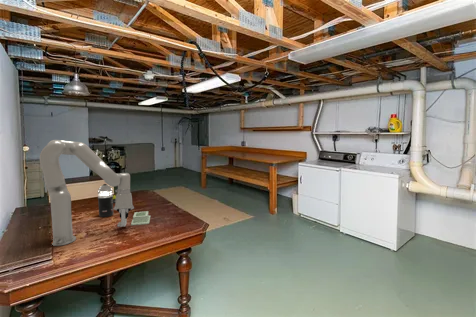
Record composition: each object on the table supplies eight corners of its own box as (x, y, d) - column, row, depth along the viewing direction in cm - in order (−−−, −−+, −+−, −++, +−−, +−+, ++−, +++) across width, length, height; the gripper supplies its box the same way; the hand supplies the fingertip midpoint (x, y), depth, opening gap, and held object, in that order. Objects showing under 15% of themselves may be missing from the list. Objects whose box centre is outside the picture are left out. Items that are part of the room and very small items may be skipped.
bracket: (125, 226, 166) (125, 208, 165) (117, 226, 165) (117, 209, 164) (126, 223, 172) (126, 206, 171) (118, 223, 170) (118, 206, 169)
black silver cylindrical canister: (97, 218, 187) (95, 185, 184) (100, 213, 196) (99, 182, 194) (112, 217, 189) (110, 185, 187) (114, 212, 199) (113, 182, 197)
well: (149, 223, 176) (148, 216, 176) (130, 225, 173) (130, 218, 173) (150, 216, 192) (150, 210, 191) (133, 217, 188) (133, 211, 188)
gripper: (109, 193, 161) (109, 220, 162) (136, 192, 165) (136, 219, 167) (111, 190, 168) (112, 217, 169) (137, 190, 172) (137, 215, 174)
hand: (124, 217), depth 168 cm, fingers closed on bracket, 2 cm apart
